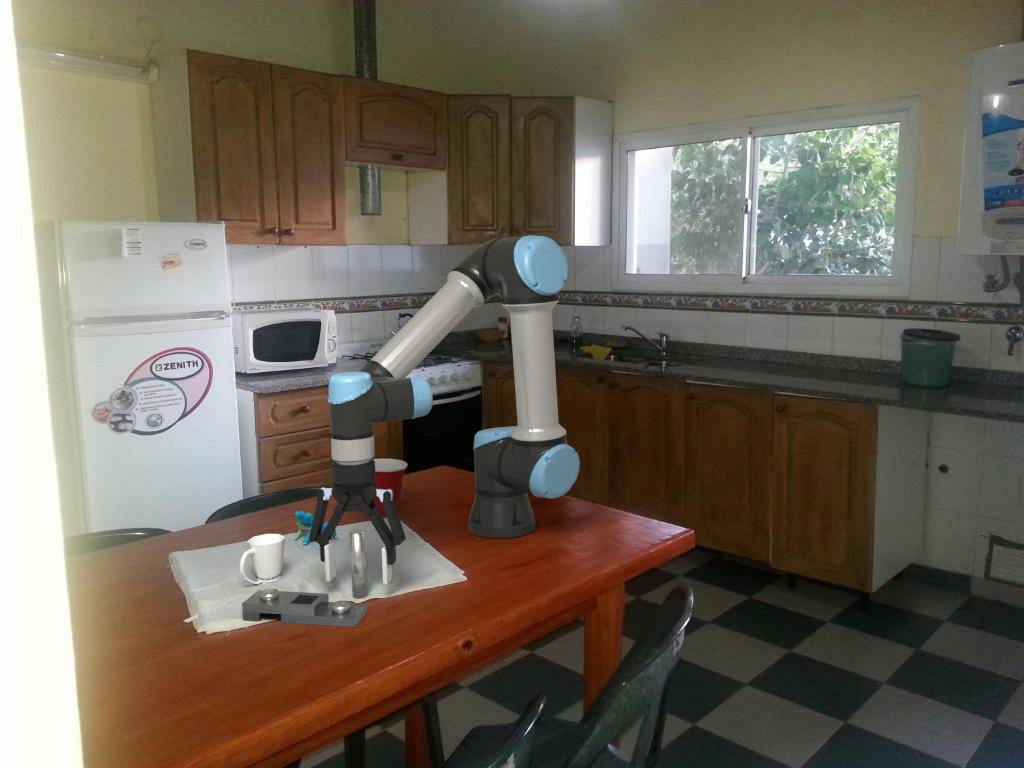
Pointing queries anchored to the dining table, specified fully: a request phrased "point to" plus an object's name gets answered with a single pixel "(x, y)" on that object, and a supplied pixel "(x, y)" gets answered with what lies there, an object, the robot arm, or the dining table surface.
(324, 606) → the grey bolted bracket
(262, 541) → the cup
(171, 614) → the dining table surface
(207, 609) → the butter knife
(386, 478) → the plastic cup
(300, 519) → the gear
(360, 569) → the metal pin
